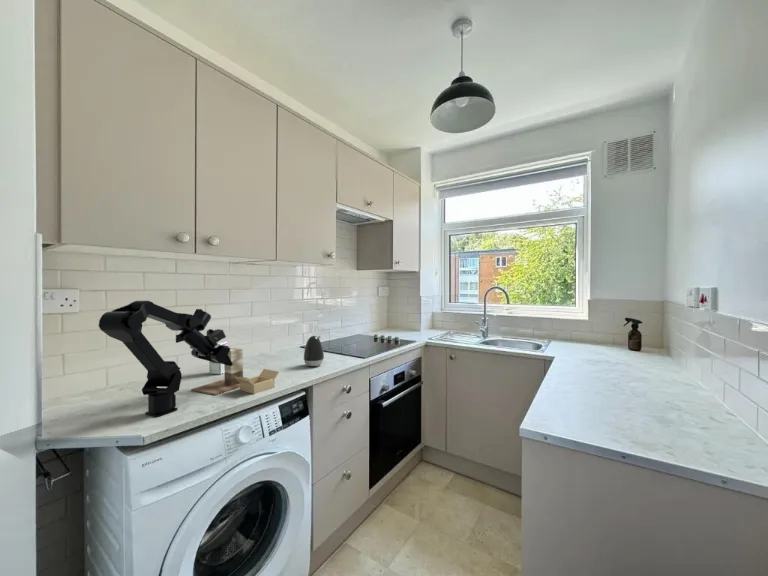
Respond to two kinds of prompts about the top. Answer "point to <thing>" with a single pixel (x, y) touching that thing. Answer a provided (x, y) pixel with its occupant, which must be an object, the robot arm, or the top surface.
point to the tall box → (234, 367)
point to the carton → (258, 382)
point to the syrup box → (217, 367)
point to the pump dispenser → (313, 352)
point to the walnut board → (216, 387)
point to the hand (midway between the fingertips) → (225, 363)
